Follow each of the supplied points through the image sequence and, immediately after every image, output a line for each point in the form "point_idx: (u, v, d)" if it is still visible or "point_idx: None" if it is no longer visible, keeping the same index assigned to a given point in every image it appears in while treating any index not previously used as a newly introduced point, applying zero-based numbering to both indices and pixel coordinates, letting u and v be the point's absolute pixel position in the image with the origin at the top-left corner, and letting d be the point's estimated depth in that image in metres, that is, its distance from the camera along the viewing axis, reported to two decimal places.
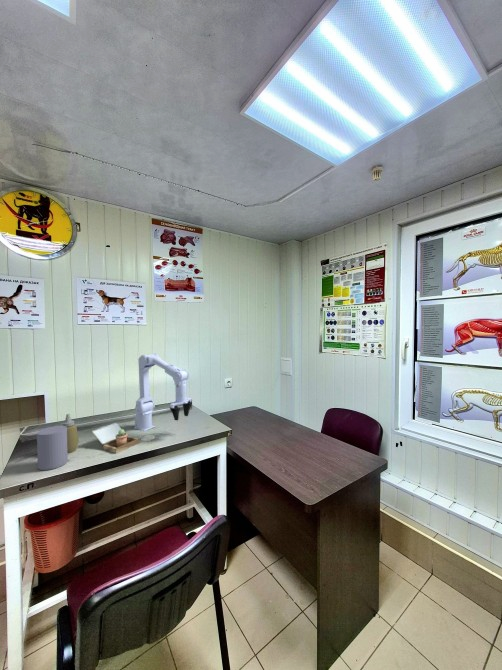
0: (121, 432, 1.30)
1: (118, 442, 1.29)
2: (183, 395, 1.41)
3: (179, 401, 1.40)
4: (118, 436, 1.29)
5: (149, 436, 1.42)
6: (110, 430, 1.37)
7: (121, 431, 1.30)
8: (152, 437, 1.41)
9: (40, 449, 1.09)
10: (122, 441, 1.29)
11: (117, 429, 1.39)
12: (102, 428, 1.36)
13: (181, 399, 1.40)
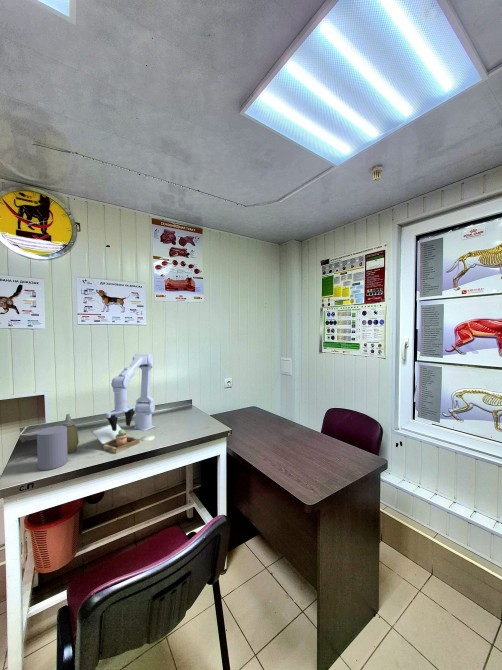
0: (121, 432, 1.30)
1: (118, 442, 1.29)
2: (122, 403, 1.29)
3: (117, 410, 1.28)
4: (118, 436, 1.29)
5: (149, 436, 1.42)
6: (110, 430, 1.37)
7: (121, 431, 1.30)
8: (152, 437, 1.41)
9: (40, 449, 1.09)
10: (122, 441, 1.29)
11: (117, 429, 1.39)
12: (102, 428, 1.36)
13: (120, 407, 1.28)
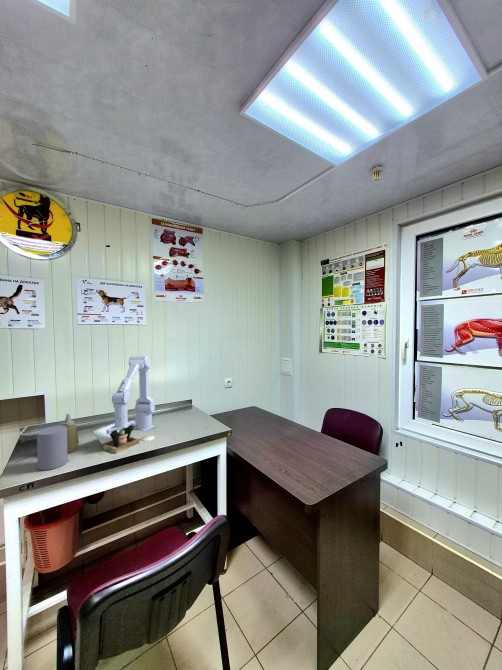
0: (121, 432, 1.30)
1: None
2: (122, 419, 1.29)
3: (118, 426, 1.28)
4: None
5: (149, 436, 1.42)
6: None
7: (121, 431, 1.30)
8: (152, 437, 1.41)
9: (40, 449, 1.09)
10: (122, 441, 1.29)
11: None
12: (102, 428, 1.36)
13: (120, 423, 1.28)
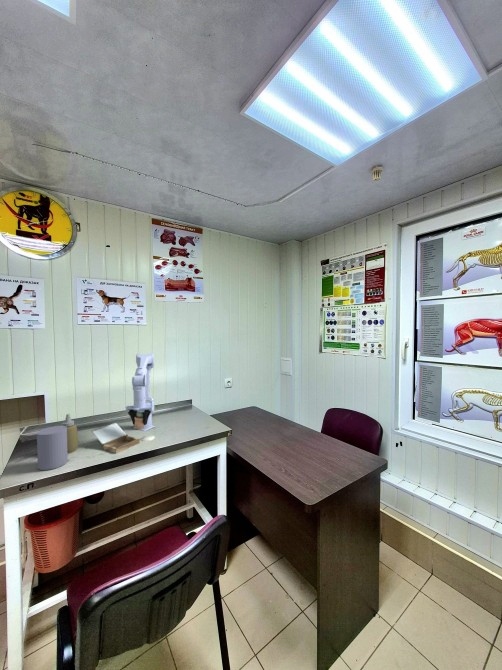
0: (137, 414, 1.36)
1: None
2: (135, 401, 1.35)
3: (133, 406, 1.36)
4: (135, 416, 1.37)
5: (149, 436, 1.42)
6: (110, 430, 1.37)
7: (138, 413, 1.37)
8: (152, 437, 1.41)
9: (40, 449, 1.09)
10: (135, 422, 1.36)
11: (117, 429, 1.39)
12: (102, 428, 1.36)
13: None
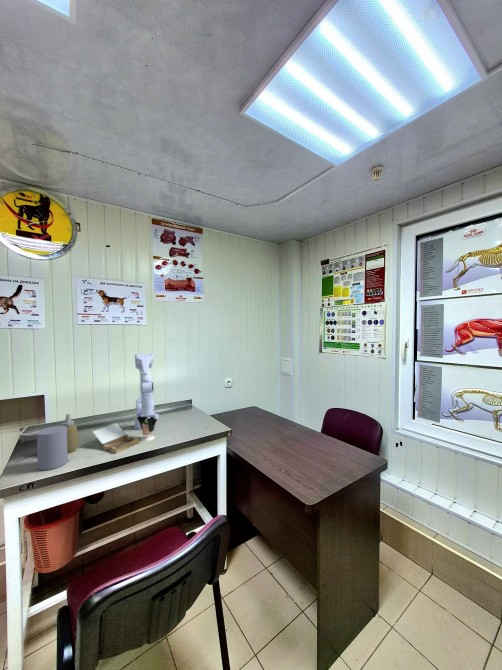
0: (145, 420, 1.39)
1: None
2: (141, 407, 1.38)
3: None
4: (144, 422, 1.41)
5: (149, 436, 1.42)
6: (110, 430, 1.37)
7: (145, 419, 1.40)
8: (152, 437, 1.41)
9: (40, 449, 1.09)
10: None
11: (117, 429, 1.39)
12: (102, 428, 1.36)
13: (141, 410, 1.39)
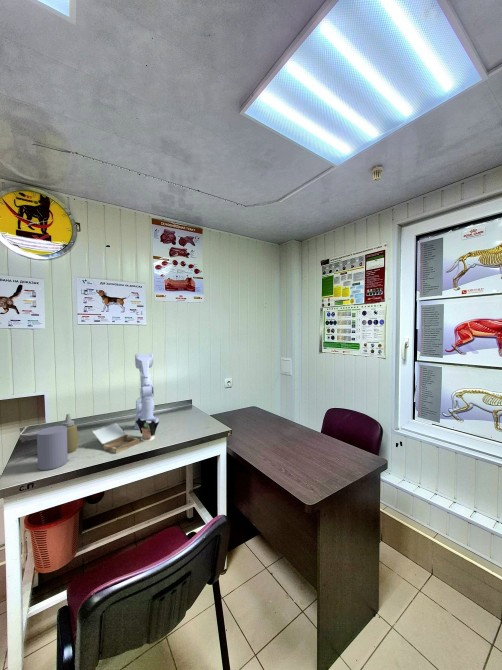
0: (144, 424, 1.40)
1: None
2: (141, 411, 1.38)
3: None
4: (143, 427, 1.41)
5: None
6: (110, 430, 1.37)
7: None
8: (152, 437, 1.41)
9: (40, 449, 1.09)
10: (142, 432, 1.39)
11: (117, 429, 1.39)
12: (102, 428, 1.36)
13: (141, 414, 1.39)
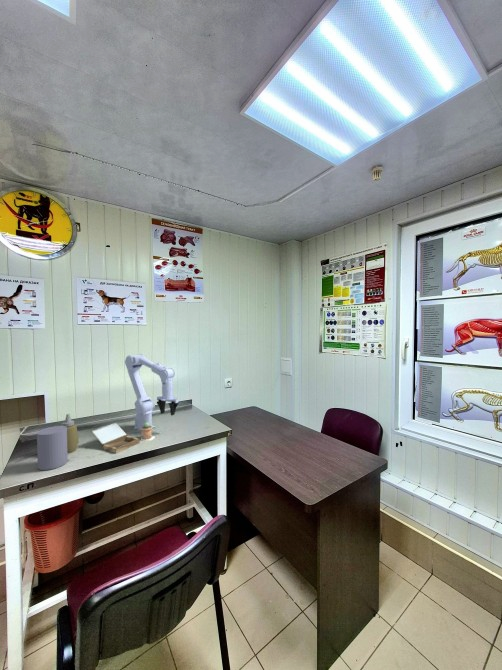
0: (144, 424, 1.40)
1: None
2: (162, 392, 1.47)
3: None
4: (143, 427, 1.41)
5: None
6: (110, 430, 1.37)
7: None
8: (152, 437, 1.41)
9: (40, 449, 1.09)
10: (142, 432, 1.39)
11: (117, 429, 1.39)
12: (102, 428, 1.36)
13: (162, 395, 1.48)
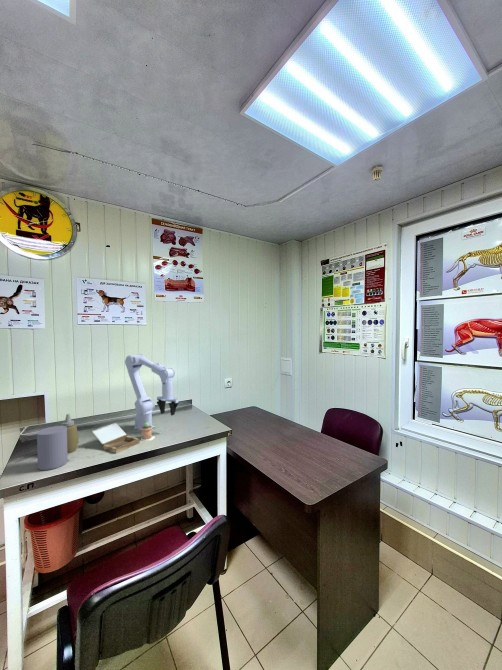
0: (144, 424, 1.40)
1: None
2: (162, 392, 1.47)
3: None
4: (143, 427, 1.41)
5: None
6: (110, 430, 1.37)
7: None
8: (152, 437, 1.41)
9: (40, 449, 1.09)
10: (142, 432, 1.39)
11: (117, 429, 1.39)
12: (102, 428, 1.36)
13: (162, 395, 1.48)
